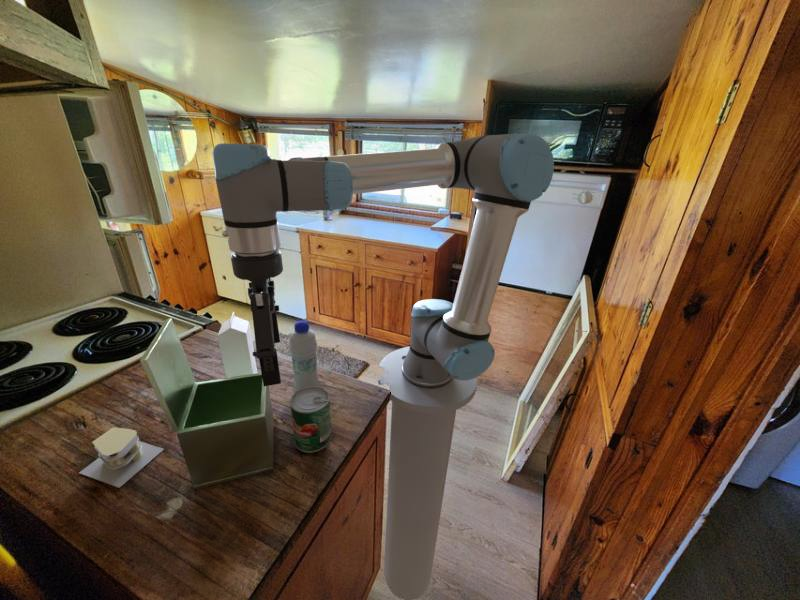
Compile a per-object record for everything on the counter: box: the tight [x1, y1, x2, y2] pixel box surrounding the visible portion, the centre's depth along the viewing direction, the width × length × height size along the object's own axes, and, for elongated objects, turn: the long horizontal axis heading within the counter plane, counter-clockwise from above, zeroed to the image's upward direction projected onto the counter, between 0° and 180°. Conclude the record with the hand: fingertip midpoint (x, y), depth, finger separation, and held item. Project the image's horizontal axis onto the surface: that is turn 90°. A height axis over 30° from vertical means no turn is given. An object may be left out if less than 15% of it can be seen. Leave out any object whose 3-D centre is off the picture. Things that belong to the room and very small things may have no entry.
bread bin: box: [176, 372, 275, 490], centre depth 64 cm, size 14×14×14 cm
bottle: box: [288, 320, 320, 392], centre depth 82 cm, size 7×7×20 cm
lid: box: [139, 317, 197, 433], centre depth 56 cm, size 14×14×1 cm
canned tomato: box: [289, 386, 332, 454], centre depth 69 cm, size 8×8×11 cm
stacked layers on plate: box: [78, 426, 165, 488], centre depth 63 cm, size 10×9×6 cm
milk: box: [216, 310, 258, 378], centre depth 79 cm, size 6×6×22 cm
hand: (272, 361), depth 60 cm, fingers open, 13 cm apart
